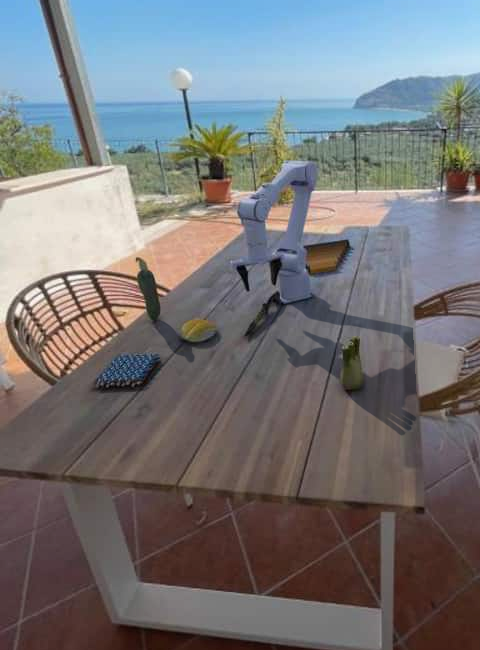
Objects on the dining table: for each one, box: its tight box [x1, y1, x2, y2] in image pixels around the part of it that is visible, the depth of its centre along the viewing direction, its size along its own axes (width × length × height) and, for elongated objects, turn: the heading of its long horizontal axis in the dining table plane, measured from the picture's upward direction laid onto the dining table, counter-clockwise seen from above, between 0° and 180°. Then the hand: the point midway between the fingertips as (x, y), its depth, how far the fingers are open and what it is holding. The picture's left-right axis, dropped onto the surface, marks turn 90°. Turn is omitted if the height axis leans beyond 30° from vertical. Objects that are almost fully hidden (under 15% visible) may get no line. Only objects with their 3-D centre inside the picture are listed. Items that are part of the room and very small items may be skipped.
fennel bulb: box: [339, 335, 364, 391], centre depth 85 cm, size 6×5×12 cm
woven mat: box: [93, 352, 161, 389], centre depth 91 cm, size 10×11×2 cm
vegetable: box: [135, 256, 161, 322], centre depth 109 cm, size 4×4×20 cm
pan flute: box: [292, 238, 351, 275], centre depth 158 cm, size 25×3×25 cm
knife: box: [244, 290, 281, 337], centre depth 114 cm, size 23×2×5 cm, turn 169°
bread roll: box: [180, 318, 217, 343], centre depth 105 cm, size 8×9×4 cm
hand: (260, 287), depth 111 cm, fingers open, 7 cm apart
